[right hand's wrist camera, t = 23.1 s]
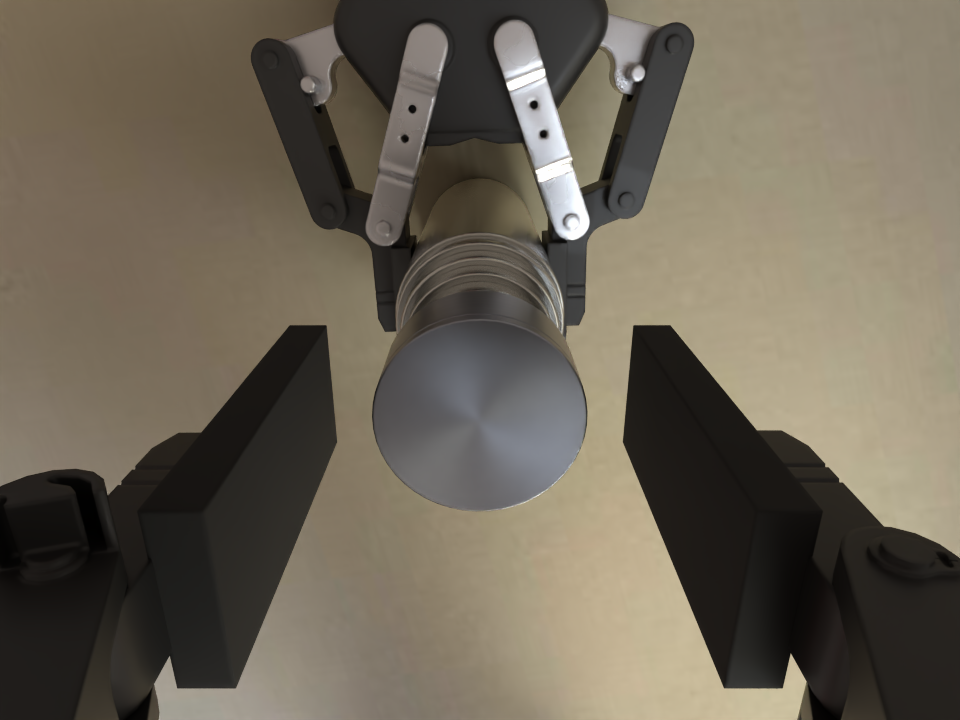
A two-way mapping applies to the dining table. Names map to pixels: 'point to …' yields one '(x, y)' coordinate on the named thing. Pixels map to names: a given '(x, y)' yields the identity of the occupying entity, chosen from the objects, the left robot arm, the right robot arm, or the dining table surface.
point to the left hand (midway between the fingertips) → (481, 335)
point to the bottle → (479, 252)
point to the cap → (479, 402)
